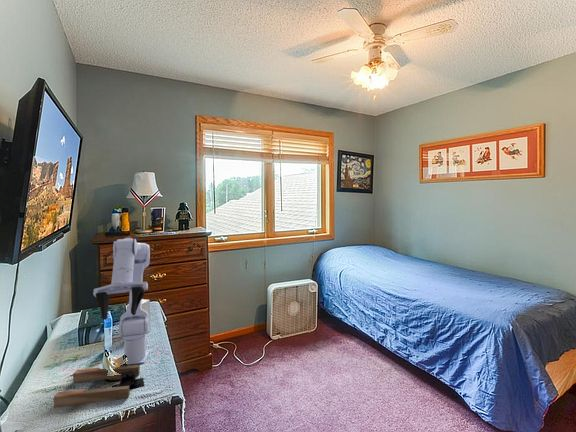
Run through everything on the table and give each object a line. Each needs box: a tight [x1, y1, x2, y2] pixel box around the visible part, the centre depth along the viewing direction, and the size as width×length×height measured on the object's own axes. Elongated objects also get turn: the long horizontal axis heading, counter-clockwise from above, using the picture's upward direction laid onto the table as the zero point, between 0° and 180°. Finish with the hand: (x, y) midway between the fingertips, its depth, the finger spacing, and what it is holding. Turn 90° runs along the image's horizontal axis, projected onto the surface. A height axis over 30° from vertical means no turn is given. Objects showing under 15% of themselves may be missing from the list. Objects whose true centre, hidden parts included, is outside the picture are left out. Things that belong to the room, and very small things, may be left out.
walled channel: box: [53, 364, 141, 408], centre depth 98 cm, size 14×20×3 cm
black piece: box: [111, 371, 145, 391], centre depth 100 cm, size 12×7×5 cm, turn 119°
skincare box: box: [126, 298, 152, 332], centre depth 137 cm, size 8×6×15 cm
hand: (118, 316), depth 88 cm, fingers open, 7 cm apart
